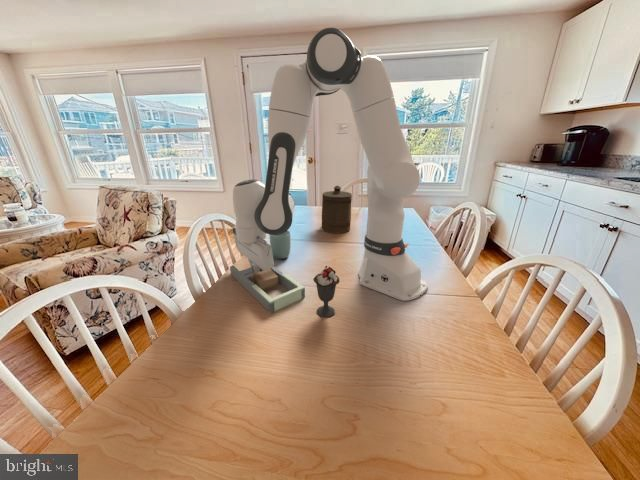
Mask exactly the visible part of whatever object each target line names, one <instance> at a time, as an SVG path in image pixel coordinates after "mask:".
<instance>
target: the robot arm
mask: <svg viewBox="0 0 640 480" xmlns="http://www.w3.org/2000/svg"><path fill="white" fill-rule="evenodd" d="M340 90H341V91H343V92H344V94H346V96H347V98H348V100H349V103H350V108H351V110H352V115H353V119H354V122H355V126H356V129H357V132H358V136H359V140H360V144H361V145H362V148H363V150H364V154H365V155H366V158H367V161H368V164H369V165H368V167H367V173H366V175H367V178H366V179H367V180H366V181H367V182H366V183H367V185H366V188H367V189H366V190H367V191H366V192H367V193H366V194H367V219H366V221H367V222H366V233H365V236H364V240H363V247H364V252H363V258H362V260H361V261H362V262H361V265H360V268H359V270H358V277H359V284H360V285H361V286H364V287H366V288H368V289H371V290H374V291H376V292H379V293H382V294H384V295H386V296H389V297H392V298H394V299H397V300H399V301H402V302H404V301H405V302H406V301H413V300H414V299H417V298H419V297H421V296H422V295H424V294H425V293H426V291H427V289H428V282H427V281H425V280H424V279H422V273H421V272H422V271H421V268H420V266H419V265H418V264H417V263H416V262H415V261H414V260H413V258H412V257H411V256H410V255H409V254H408V253H407V252H406V248H408V247H409V242H408V243H404V239H403V229H404V223H405V222H404V221H405V211H404V204H403V199H407V198H409V197H410V196H413V194H415V192H416V191H417V189H418V188H419V185H420V182H421V176H420V172H419V170H418V167H417V166H416V164H415V162H414V159H413V157H412V154H411V152H410V149H409V146H408V144H407V141H406V138H405V136H404V133H403V130H402V128H401V123H400V119H399V114H398V109H397V106H396V100H395V97H394V92H393V88H392V84H391V81H390V77H389V76H388V73H387V71H386V67H385V64H384V63H383V61H382V60H381V58H379V57H377V56H375V55H366V56H362V53H361V51H360V50H359V49H358V48H357V46H355V44H354V43H353V42H352V40H351V39H350V38H349V37H348V36H347V34H345V33H344V32H343V31H342V30H340V29H339V28H336V27H325V28H323V29H321V30H320V31H318V32H317V33H316V34H315V35H314V36H313V37H312V38H311V40H310V42H309V44H308V47H307V51H306V60H305V62H304V63H302V64H294V63H287V64H283V65H282V66H280V67H279V68H278V69H277V71H276V72H275V76H274V80H273V83H272V87H271V92H270V97H269V104H268V105H269V106H268V113H267V137H268V161H267V162H268V163H267V168H266V169H267V171H266V177H265V183H262V182H261V181H260V180H259V179H246V180H243V181H240V182H238V183H236V184H235V185H234V187H233V190H232V204H233V212H234V215H235V217H236V218H235V219H236V220H235V226H232V227H231V231H232V234H233V239H234V243H235V247H236V250H237V252H239V253H240V254H241V255H243V256H244V257H245V258H246V259H247V260H248V263H249V266H250V268H251V270H252V271H253V272H254V273H257V272H260V268H261V269H262V270H263V271H265V270H268V269H271V268H273V267H275V262H274V256H273V254H272V249H271V247H270V243H268V242H267V240H266V237H267V235H280V234H283V233H285V232H286V231H289V229H290V228H291V226H292V224H293V217H294V210H295V201H294V198H293V197H292V195H291V194H290V190H291V189H290V188H291V180H292V175H293V174H292V173H293V167H294V164H295V161H296V158H297V156H298V154H299V153H300V150H301V149H302V147H303V145H304V142H305V139H306V137H307V133H308V131H309V130H308V129H309V126H310V120H311V112H312V106H313V102H314V99H315V97H321V96H329V95H333V94H336V93H337V92H338V91H340ZM420 295H421V296H420Z"/></svg>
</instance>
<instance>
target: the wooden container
mask: <svg viewBox="0 0 640 480" xmlns="http://www.w3.org/2000/svg"><path fill="white" fill-rule="evenodd" d="M333 189H334V190H333V191H324V192H322V199H321V200H322V205H321V230H322V231H323V232H326V233H331V234H344V233H347V232H349V231H350V230H351V222H352V200H353V194H352V193H351V192H348V191H343V190H342V187H341V186H340V185H335V186H334V187H333Z"/></svg>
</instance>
